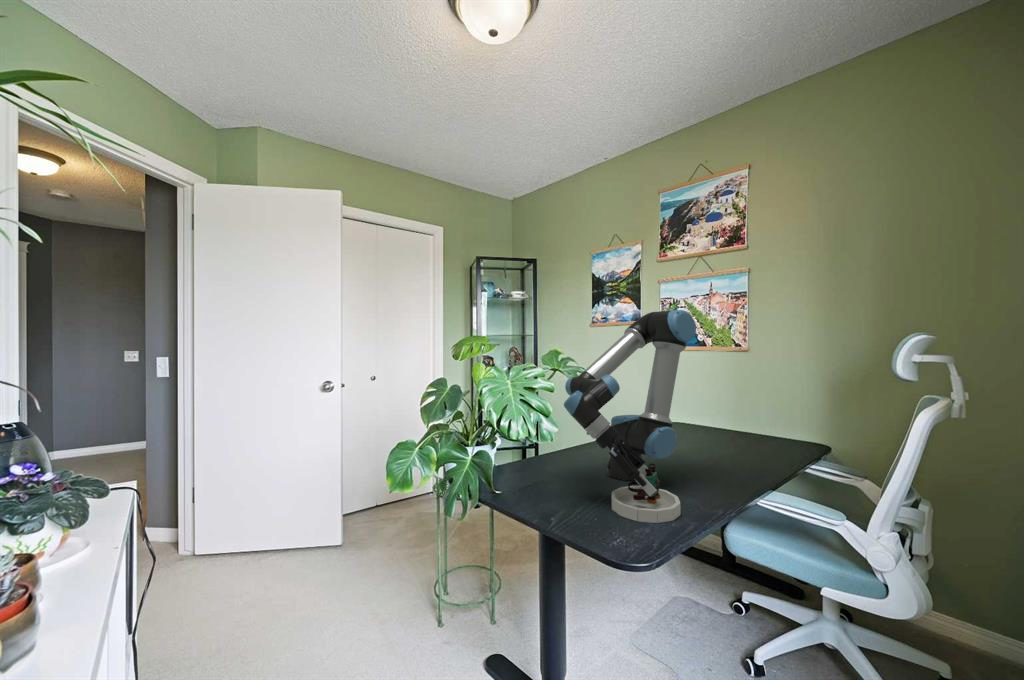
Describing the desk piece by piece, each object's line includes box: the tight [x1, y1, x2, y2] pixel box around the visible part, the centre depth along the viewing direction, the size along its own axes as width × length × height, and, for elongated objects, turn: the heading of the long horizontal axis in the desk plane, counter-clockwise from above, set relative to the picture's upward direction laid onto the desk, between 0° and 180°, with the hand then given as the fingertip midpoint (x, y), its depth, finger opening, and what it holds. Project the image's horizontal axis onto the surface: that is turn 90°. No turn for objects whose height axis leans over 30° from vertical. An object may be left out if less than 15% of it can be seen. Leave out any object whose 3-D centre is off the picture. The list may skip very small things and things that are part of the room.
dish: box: [611, 485, 682, 524], centre depth 131 cm, size 20×20×4 cm
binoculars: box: [627, 463, 661, 504], centre depth 131 cm, size 9×11×10 cm
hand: (654, 488), depth 130 cm, fingers closed on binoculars, 9 cm apart
